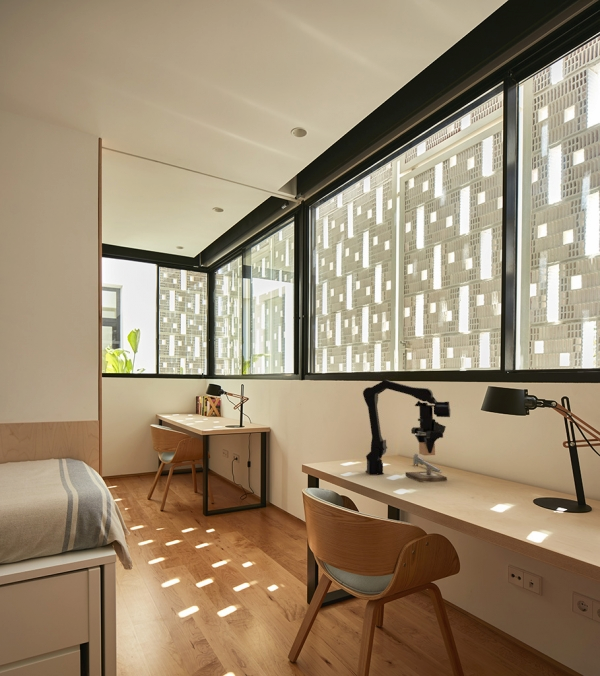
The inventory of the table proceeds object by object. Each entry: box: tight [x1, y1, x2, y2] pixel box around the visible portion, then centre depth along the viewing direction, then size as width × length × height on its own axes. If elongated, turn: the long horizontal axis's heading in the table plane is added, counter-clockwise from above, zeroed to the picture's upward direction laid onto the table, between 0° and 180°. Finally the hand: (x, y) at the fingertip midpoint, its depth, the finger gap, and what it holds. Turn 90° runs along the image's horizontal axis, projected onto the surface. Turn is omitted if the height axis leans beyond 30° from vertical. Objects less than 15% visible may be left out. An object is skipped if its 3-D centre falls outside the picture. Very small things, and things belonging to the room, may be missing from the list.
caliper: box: [412, 453, 442, 473], centre depth 225 cm, size 20×1×6 cm, turn 24°
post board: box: [405, 464, 448, 483], centre depth 203 cm, size 13×13×6 cm
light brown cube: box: [418, 442, 436, 456], centre depth 204 cm, size 5×5×5 cm
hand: (427, 452), depth 204 cm, fingers closed on light brown cube, 5 cm apart
